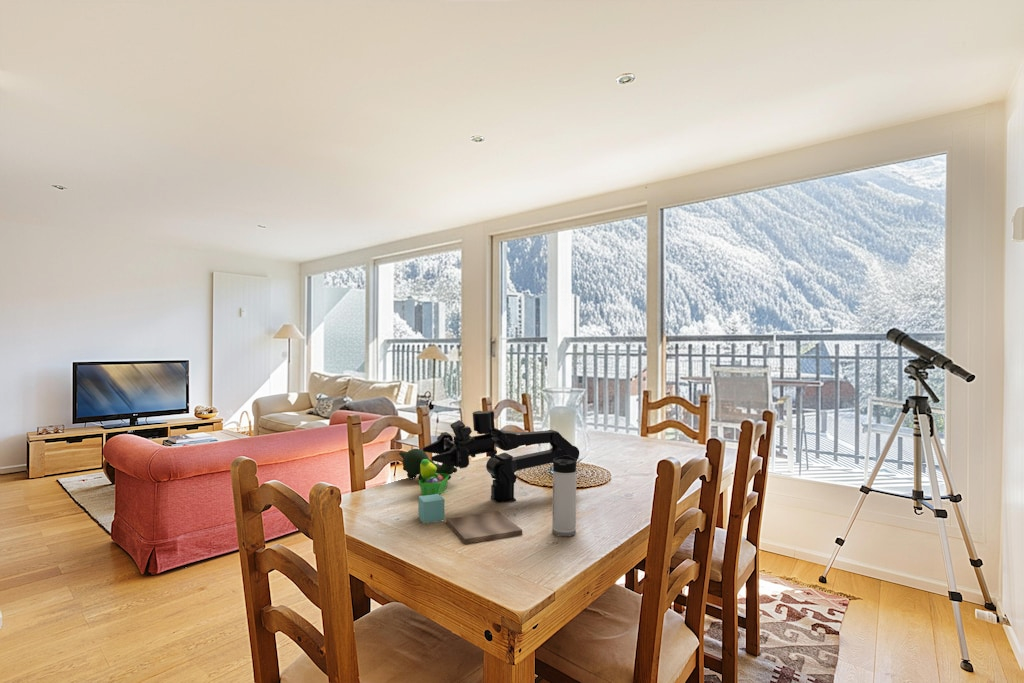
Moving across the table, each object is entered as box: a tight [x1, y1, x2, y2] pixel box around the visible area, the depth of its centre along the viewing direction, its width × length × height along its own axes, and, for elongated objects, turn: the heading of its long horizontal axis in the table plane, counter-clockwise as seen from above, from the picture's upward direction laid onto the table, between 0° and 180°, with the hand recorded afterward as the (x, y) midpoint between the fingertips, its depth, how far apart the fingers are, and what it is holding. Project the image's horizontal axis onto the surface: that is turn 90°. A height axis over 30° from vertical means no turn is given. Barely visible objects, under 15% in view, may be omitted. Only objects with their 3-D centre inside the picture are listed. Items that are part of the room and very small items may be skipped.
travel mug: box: [551, 455, 577, 537], centre depth 134 cm, size 6×7×20 cm
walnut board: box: [445, 510, 523, 545], centre depth 136 cm, size 16×16×1 cm
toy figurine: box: [398, 435, 458, 481], centre depth 183 cm, size 9×19×25 cm
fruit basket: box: [418, 459, 449, 496], centre depth 168 cm, size 11×9×11 cm
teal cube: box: [417, 494, 445, 524], centre depth 143 cm, size 6×6×6 cm
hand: (427, 454), depth 150 cm, fingers open, 9 cm apart
